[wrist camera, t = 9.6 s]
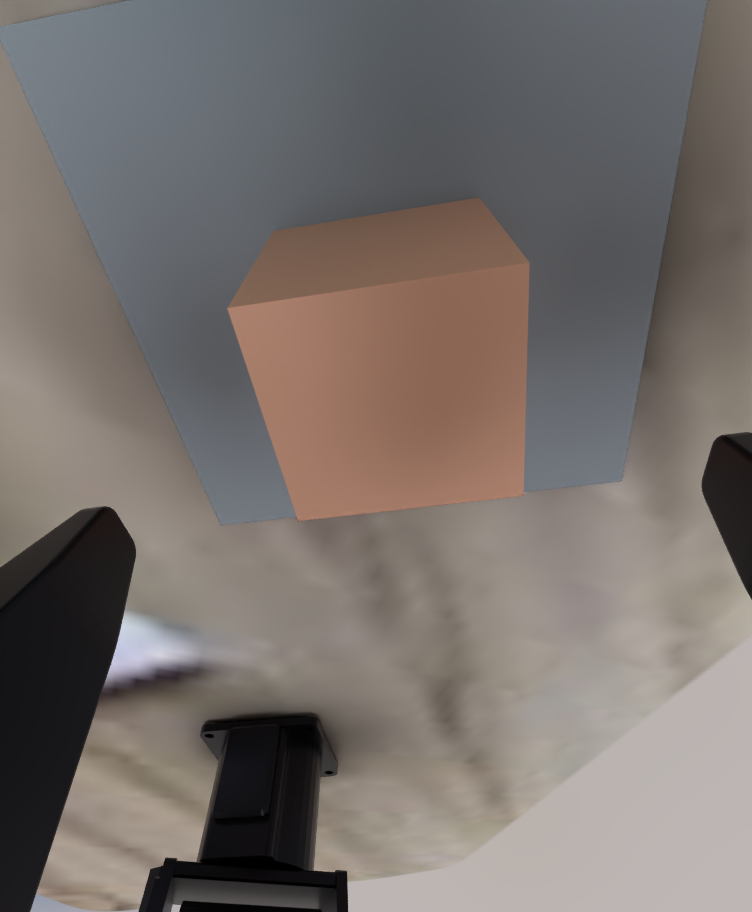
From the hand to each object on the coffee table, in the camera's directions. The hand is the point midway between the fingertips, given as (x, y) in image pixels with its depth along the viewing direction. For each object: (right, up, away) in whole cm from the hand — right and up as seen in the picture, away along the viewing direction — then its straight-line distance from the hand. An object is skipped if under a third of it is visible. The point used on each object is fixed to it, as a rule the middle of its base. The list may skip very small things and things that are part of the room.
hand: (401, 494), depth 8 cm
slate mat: (0, +5, +7) cm, 8 cm away
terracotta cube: (0, +4, +6) cm, 8 cm away
